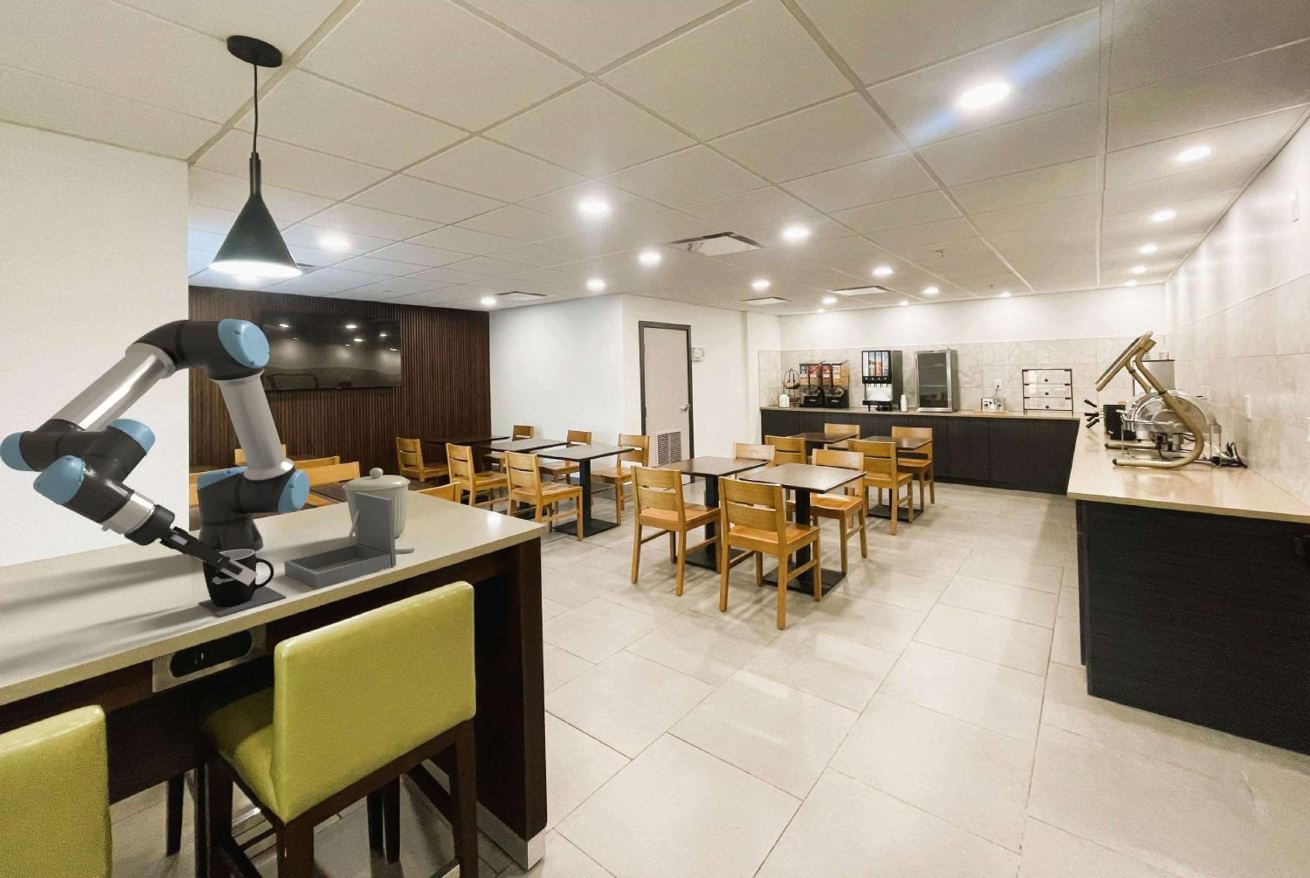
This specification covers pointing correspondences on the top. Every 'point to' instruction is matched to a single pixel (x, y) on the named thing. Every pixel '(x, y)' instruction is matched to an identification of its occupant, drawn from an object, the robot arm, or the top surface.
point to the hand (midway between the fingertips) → (239, 573)
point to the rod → (404, 550)
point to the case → (353, 547)
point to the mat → (258, 599)
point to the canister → (381, 495)
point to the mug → (233, 579)
